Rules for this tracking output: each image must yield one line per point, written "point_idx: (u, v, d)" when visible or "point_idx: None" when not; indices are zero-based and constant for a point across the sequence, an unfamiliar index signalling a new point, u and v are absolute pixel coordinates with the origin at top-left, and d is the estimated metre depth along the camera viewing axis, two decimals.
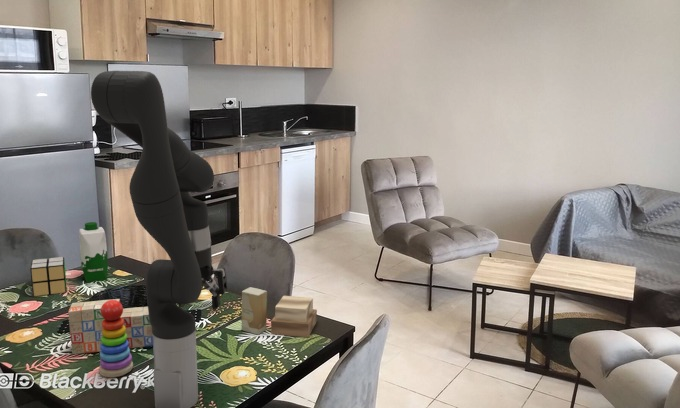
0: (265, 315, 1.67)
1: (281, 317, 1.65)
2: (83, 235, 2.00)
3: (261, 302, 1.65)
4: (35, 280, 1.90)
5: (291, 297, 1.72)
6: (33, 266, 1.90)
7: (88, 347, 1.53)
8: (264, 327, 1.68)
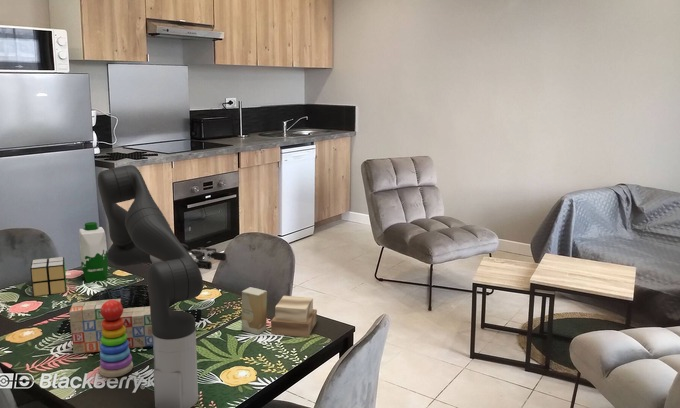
0: (265, 315, 1.67)
1: (281, 317, 1.65)
2: (83, 235, 2.00)
3: (261, 302, 1.65)
4: (35, 280, 1.90)
5: (291, 297, 1.72)
6: (33, 266, 1.90)
7: (89, 346, 1.53)
8: (264, 327, 1.68)
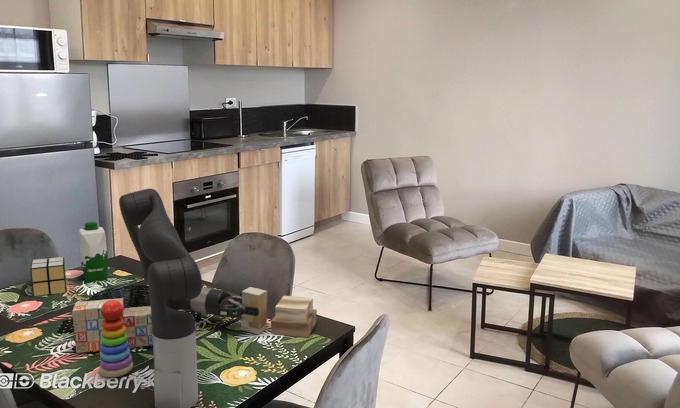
0: (265, 315, 1.67)
1: (281, 317, 1.65)
2: (83, 235, 2.00)
3: (262, 301, 1.65)
4: (35, 280, 1.90)
5: (291, 297, 1.72)
6: (33, 266, 1.90)
7: (92, 346, 1.53)
8: (264, 327, 1.68)
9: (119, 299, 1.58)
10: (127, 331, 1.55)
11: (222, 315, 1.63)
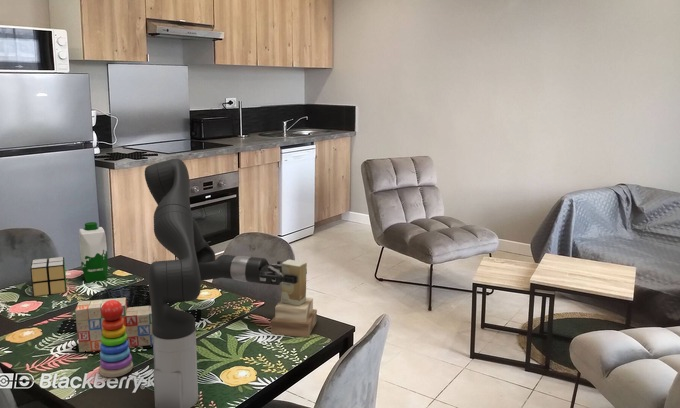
0: (305, 287, 1.68)
1: (281, 317, 1.65)
2: (83, 235, 2.00)
3: (302, 273, 1.65)
4: (35, 280, 1.90)
5: None
6: (33, 266, 1.90)
7: (95, 345, 1.54)
8: (304, 299, 1.68)
9: (122, 298, 1.58)
10: (130, 330, 1.55)
11: (261, 281, 1.63)
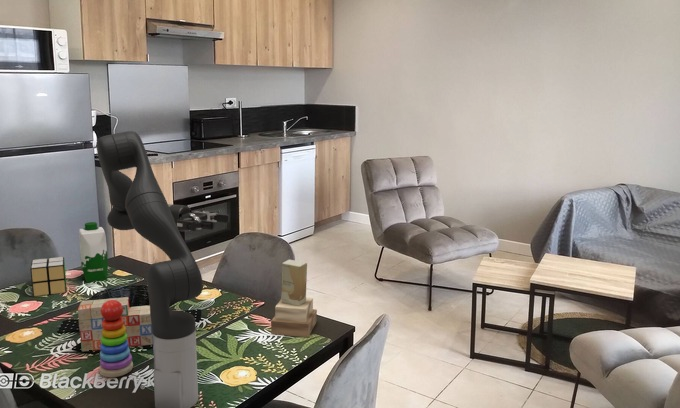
0: (305, 287, 1.68)
1: (281, 317, 1.65)
2: (83, 235, 2.00)
3: (302, 273, 1.65)
4: (35, 280, 1.90)
5: None
6: (33, 266, 1.90)
7: (97, 344, 1.54)
8: (304, 299, 1.68)
9: (124, 298, 1.59)
10: (132, 330, 1.56)
11: (178, 227, 1.59)
